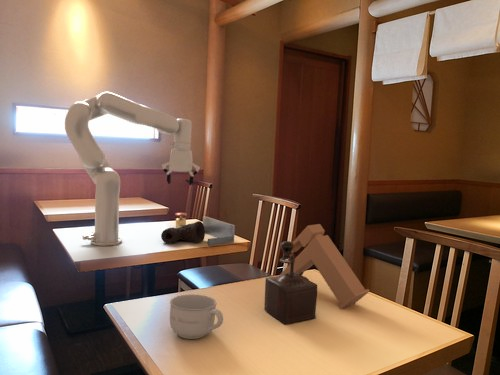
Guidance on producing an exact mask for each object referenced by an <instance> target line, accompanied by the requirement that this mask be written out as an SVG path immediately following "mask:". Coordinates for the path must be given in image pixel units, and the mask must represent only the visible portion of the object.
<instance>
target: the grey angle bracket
mask: <svg viewBox="0 0 500 375" xmlns="http://www.w3.org/2000/svg"><path fill="white" fill-rule="evenodd" d="M202 223H203V225H204V229H205V235H210V236H212V237H210V238H207V246H208V247H212V246H221V245H226V244H234V243H235V232H236V231H235V229H236V225H235V224H232V223H228V222H225V221H221V220H218V219H216V218H212V217H209V216H205V215H204V216H202Z"/></svg>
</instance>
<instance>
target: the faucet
mask: <svg viewBox="0 0 500 375" xmlns="http://www.w3.org/2000/svg"><path fill="white" fill-rule="evenodd" d="M291 242H292V243H293V245H294V247H293V249H292V251H291V253H295V252H298V251H299V250H300V249H301V248H302V247H303V248H304V249H303V250H302V251H301V252H300V253H299V254H298V255H297V256H295V258H294V260H295V263H294V270H293V272H294V273H297V274H300V272H303V273H305V272H306V271H307V270H308V269H310V268H311V267H312V266H315V267H316V269H317V270H318V272H319V274H320V275H321V277H322V279H323V280H324V282H325V283H326V285H327V286H328V288H329V289H330V291H331V292H332V293H333V295H334V297H335V299H336V300H337V301H338V303H339V306H338V308H339V310H341V309H342V310H343V309H344V308H348V307H350V306H352V305H355V304H356V303H357V302H358V301H360V300H361V299H362V298H364V297H365V296H366V295H367V294H369V293H370V289H369V288H367V289H366V288H365V287H364V286H363V284H362V283H361V281H360V280H359V278H358V277H357V275H356V274H355V273H354V271H353V269H352V268H351V267H350V266H349V264H348V262H347V261H346V259H345V258H344V257H343V255H342V254H341V252H340V251H339V249H338V248H337V246H336V244H334V242H333V241H332V239H331V238H330V236H329V235H328V234H326V235H325V229H324V228H323V226H322V224H320V223H317V224H310V225H307V226H306V227H305V228H304V229H303V230H302V231H301V232H300V234H298V236H296V238H295V239H294V240H293V241H291ZM282 253H284V252H283V251H282ZM286 273H290V264H288V266H286V268H284V270H283V271H282V272H281V273H280V274H279V275H278V276H281V275H283V274H286Z"/></svg>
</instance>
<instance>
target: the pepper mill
mask: <svg viewBox="0 0 500 375" xmlns="http://www.w3.org/2000/svg"><path fill="white" fill-rule="evenodd" d="M292 242H293V241H288V240H287V241H285V240H284V241H283V242H281V243H280V246H279V247H280V249H281V250H282V253H283V252H284V253H283V255H282V258H280V259H279V262H280V263H283V264H288V265H290V273H286V274H283V275H281V276H279V275H277V276H275V275H274V276H270V277H265V284H264V285H265V286H264V308H263V310H264V311H265V312H266V314H268V315H269V316H271V317H272V318H274V320H276V321H277V322H279V323H281V324H283V325H284V326H287V325H293V324H297V323H302V322H307V321H311V320H315V319H316V318H317V316H316V314H317V313H316V312H317V311H316V310H317V301H318V284H317V283H315V282H313V281H311V280H309V278H308V277H306V276H304V275H303V274H304V272H300V274H297V273H294V272H293V270H294V263H295V260H294V259H295V258H296V256H295V255H294V254H292V252H291V251H292V249H293V247H294V245H293V243H292Z"/></svg>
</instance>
